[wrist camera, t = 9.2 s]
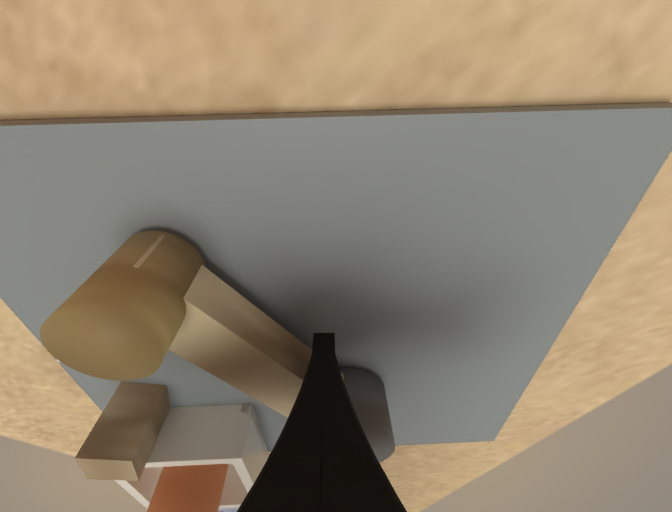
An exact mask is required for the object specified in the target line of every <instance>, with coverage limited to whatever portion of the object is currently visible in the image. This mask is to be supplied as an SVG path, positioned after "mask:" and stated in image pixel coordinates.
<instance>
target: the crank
mask: <svg viewBox="0 0 672 512" xmlns="http://www.w3.org/2000/svg"><path fill="white" fill-rule="evenodd" d="M40 338H41V341H42V343H43V345H44V347H45V348H46V349H47V351H48V352H49V353H50V354H51V355H52V356H54V357H55V358H56V359H57V360H59V361H60V362H61V363H63V364H65V365H66V366H68V367H70V368H72V369H74V370H76V371H78V372H81V373H83V374H86V375H89V376H93V377H96V378H101V379H106V380H114V381H131V380H138V379H142V378H145V377H148V376H150V375H152V374H153V373H154V372H156V371H157V370H158V369H159V367H160V365H161V363H162V361H163V359H164V357H165V356H166V354H167V352H168V350H170V351H172V352H174V353H175V354H177V355H179V356H181V357H182V358H184V359H186V360H188V361H189V362H191V363H193V364H195V365H196V366H198V367H200V368H202V369H203V370H205V371H207V372H209V373H210V374H212V375H214V376H215V377H217V378H219V379H221V380H222V381H224V382H226V383H228V384H229V385H231V386H233V387H235V388H236V389H238V390H240V391H242V392H243V393H245V394H247V395H249V396H250V397H252V398H254V399H256V400H257V401H259V402H261V403H263V404H264V405H266V406H268V407H270V408H271V409H273V410H275V411H277V412H278V413H280V414H282V415H284V416H285V417H287V418H288V417H289V415H290V412H291V410H292V407H293V405H294V403H295V400H296V398H297V396H298V393H299V391H300V388H301V385H302V382H303V380H304V377H305V374H306V371H307V368H308V365H309V362H310V358H311V355H312V350H311V349H310V348H309V347H307V346H306V345H305V344H304V343H302V342H301V341H300V340H298V339H297V338H296V337H295V336H293V335H292V334H291V333H289V332H288V331H287V330H286V329H284V328H283V327H282V326H280V325H279V324H278V323H276V322H275V321H274V320H273V319H271V318H270V317H269V316H267V315H266V314H265V313H264V312H262V311H261V310H260V309H258V308H257V307H256V306H255V305H253V304H252V303H251V302H249V301H248V300H247V299H246V298H244V297H243V296H242V295H240V294H239V293H238V292H237V291H235V290H234V289H233V288H231V287H230V286H229V285H228V284H226V283H225V282H224V281H222V280H221V279H220V278H219V277H217V276H216V275H215V274H213V273H212V272H211V271H210V270H208V269H207V268H206V266H205V262H204V260H203V258H202V256H201V255H200V253H199V252H198V251H197V250H196V249H195V248H194V247H193V246H192V245H191V244H190V243H188V242H187V241H186V240H184V239H182V238H180V237H178V236H176V235H173V234H171V233H167V232H163V231H153V230H151V231H143V232H139V233H136V234H134V235H133V236H131V237H130V238H129V239H128V240H127V241H126V242H125V243H124V244H123V245H122V246H121V247H119V248H118V249H117V250H116V251H115V252H114V253H113V254H112V255H111V256H110V257H109V258H108V259H107V260H106V261H105V262H104V263H103V264H102V265H101V266H100V267H99V268H98V269H97V270H96V271H95V272H94V273H93V274H92V275H91V276H90V277H89V278H88V279H87V280H86V281H85V282H84V283H83V284H82V285H81V286H80V287H79V288H78V289H77V290H76V291H75V292H74V293H73V294H72V295H71V296H70V297H69V298H68V299H67V300H66V301H65V302H64V303H63V304H61V305H60V306H59V307H58V308H57V309H56V310H55V311H54V312H53V313H52V314H51V315H50V316H49V317H48V318H47V319H46V320H45V321H44V323H43V324H42V326H41V328H40ZM340 372H341V375H342V378H343V381H344V384H345V387H346V390H347V393H348V395H349V398H350V400H351V403H352V405H353V408H354V410H355V413H356V415H357V417H358V420H359V422H360V424H361V427H362V429H363V431H364V433H365V435H366V437H367V439H368V441H369V444H370V446H371V448H372V450H373V452H374V454H375V456H376V458H377V460H378V461H379V463H380V462H382V461H384V460H385V459H387V458H388V457H389V456H390V455H391V454H392V453H393V452H394V450H395V442H394V436H393V431H392V425H391V420H390V414H389V409H388V403H387V398H386V392H385V387H384V384H383V382H382V380H381V379H380V378H379V377H377V376H376V375H374V374H373V373H370V372H368V371H365V370H360V369H353V368H342V369H340Z"/></svg>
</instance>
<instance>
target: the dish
mask: <svg viewBox="0 0 672 512" xmlns="http://www.w3.org/2000/svg"><path fill="white" fill-rule="evenodd" d="M268 457H269V453H268V450H267V447H266V444H265V441H264V438H263V435H262V432H261V429H260V426H259V423H258V420H257V417H256V414H255V411H254V408H253V405H252V404H238V405H216V406H194V407H172V408H170V409H169V411H168V414H167V416H166V418H165V421H164V423H163V425H162V428H161V430H160V432H159V435H158V437H157V439H156V442H155V444H154V447H153V449H152V451H151V454H150V456H149V458H148V461H147V463H146V465H145V468H144V470H143V472H142V475H141V477H140V480H139V481H127V480H115V481H116V482H117V483H118V484H119V485H120V486H122V487H123V488H124V489H125V490H126V491H127V492H129V493H130V494H131V495H132V496H133V497H134V498H135V499H137V500H138V501H139V502H140V503H141V504H142V505H143V506H145V507H146V508H147V509H148V506H149V504H150V501H151V498H152V496H153V493H154V490H155V488H156V485H157V482H158V480H159V477H160V474H161V472H162V469H163V467H169V466H189V465H209V464H229V465H228V469H227V474H226V478H225V482H224V487H223V491H222V496H221V500H220V505H219V509H221V508H239V507H240V505H241V504H242V502H243V500H244V499H245V497H246V495H247V494H248V492H249V491H250V489H251V487H252V486H253V484H254V482H255V481H256V479H257V477H258V475H259V474H260V472H261V470H262V468H263V466H264V464H265V463H266V461H267V459H268Z"/></svg>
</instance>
